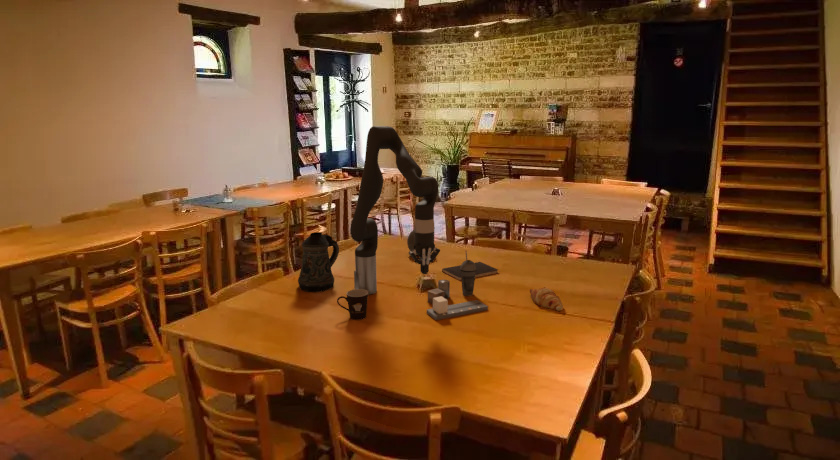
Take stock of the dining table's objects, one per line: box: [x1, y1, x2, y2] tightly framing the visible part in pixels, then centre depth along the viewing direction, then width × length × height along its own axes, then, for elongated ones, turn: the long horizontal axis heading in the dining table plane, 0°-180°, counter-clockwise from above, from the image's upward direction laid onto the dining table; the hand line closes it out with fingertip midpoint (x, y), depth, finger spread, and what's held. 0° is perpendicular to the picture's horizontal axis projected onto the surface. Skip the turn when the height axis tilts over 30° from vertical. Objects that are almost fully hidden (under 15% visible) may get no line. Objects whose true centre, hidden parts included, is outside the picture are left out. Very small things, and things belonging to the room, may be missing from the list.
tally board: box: [426, 299, 489, 321], centre depth 214 cm, size 24×8×2 cm, turn 116°
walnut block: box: [427, 287, 444, 305], centre depth 224 cm, size 5×5×5 cm
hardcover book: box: [441, 261, 499, 281], centre depth 263 cm, size 16×23×2 cm
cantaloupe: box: [406, 228, 419, 256], centre depth 291 cm, size 14×14×15 cm
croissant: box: [529, 287, 564, 312], centre depth 222 cm, size 21×10×8 cm, turn 25°
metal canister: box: [437, 279, 451, 300], centre depth 229 cm, size 5×5×7 cm
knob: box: [432, 296, 449, 314], centre depth 210 cm, size 4×5×5 cm
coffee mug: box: [336, 288, 369, 321], centre depth 208 cm, size 12×9×10 cm
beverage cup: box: [460, 250, 477, 297], centre depth 231 cm, size 7×7×20 cm
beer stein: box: [297, 231, 340, 293], centre depth 242 cm, size 16×19×25 cm
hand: (424, 273), depth 203 cm, fingers closed
